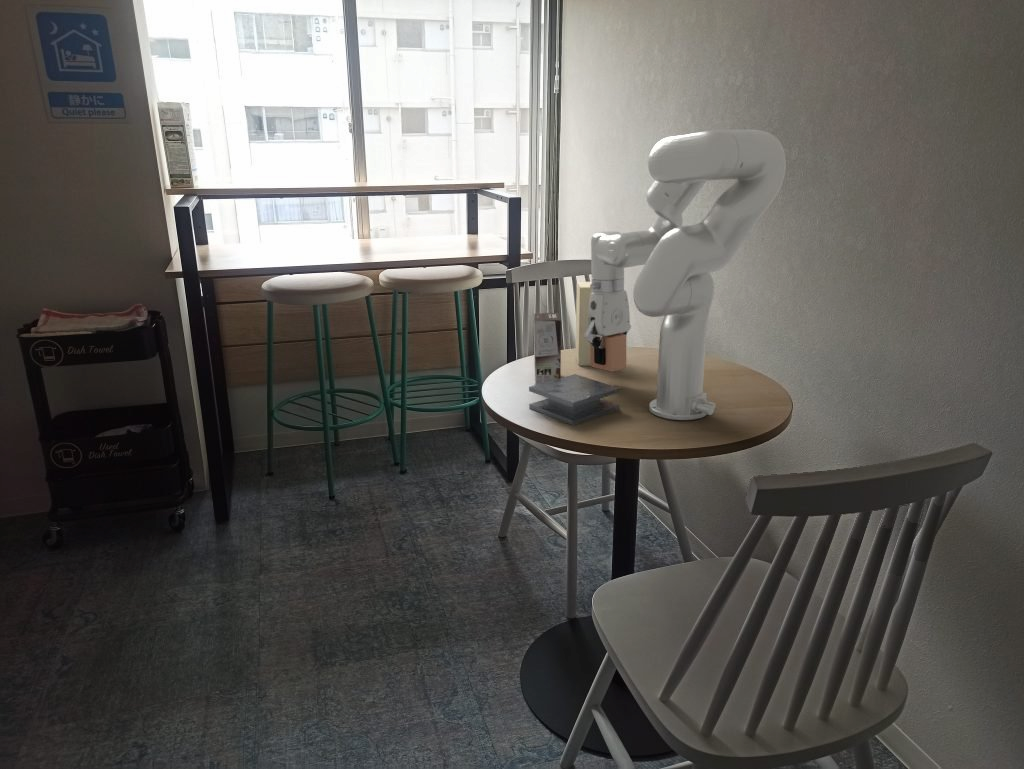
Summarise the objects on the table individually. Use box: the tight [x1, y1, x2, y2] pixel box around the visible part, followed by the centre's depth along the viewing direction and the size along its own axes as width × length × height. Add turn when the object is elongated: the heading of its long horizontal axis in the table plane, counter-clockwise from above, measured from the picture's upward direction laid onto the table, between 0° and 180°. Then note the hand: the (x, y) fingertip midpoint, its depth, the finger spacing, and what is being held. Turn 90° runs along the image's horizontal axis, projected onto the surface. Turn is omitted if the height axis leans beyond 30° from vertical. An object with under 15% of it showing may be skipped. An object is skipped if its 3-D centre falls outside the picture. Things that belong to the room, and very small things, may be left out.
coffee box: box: [533, 312, 562, 385], centre depth 178 cm, size 9×6×16 cm
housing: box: [590, 334, 627, 372], centre depth 173 cm, size 7×5×9 cm
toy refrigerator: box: [575, 281, 592, 367], centre depth 191 cm, size 8×7×21 cm
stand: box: [528, 373, 621, 426], centre depth 159 cm, size 14×14×5 cm
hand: (608, 360), depth 173 cm, fingers closed on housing, 5 cm apart
